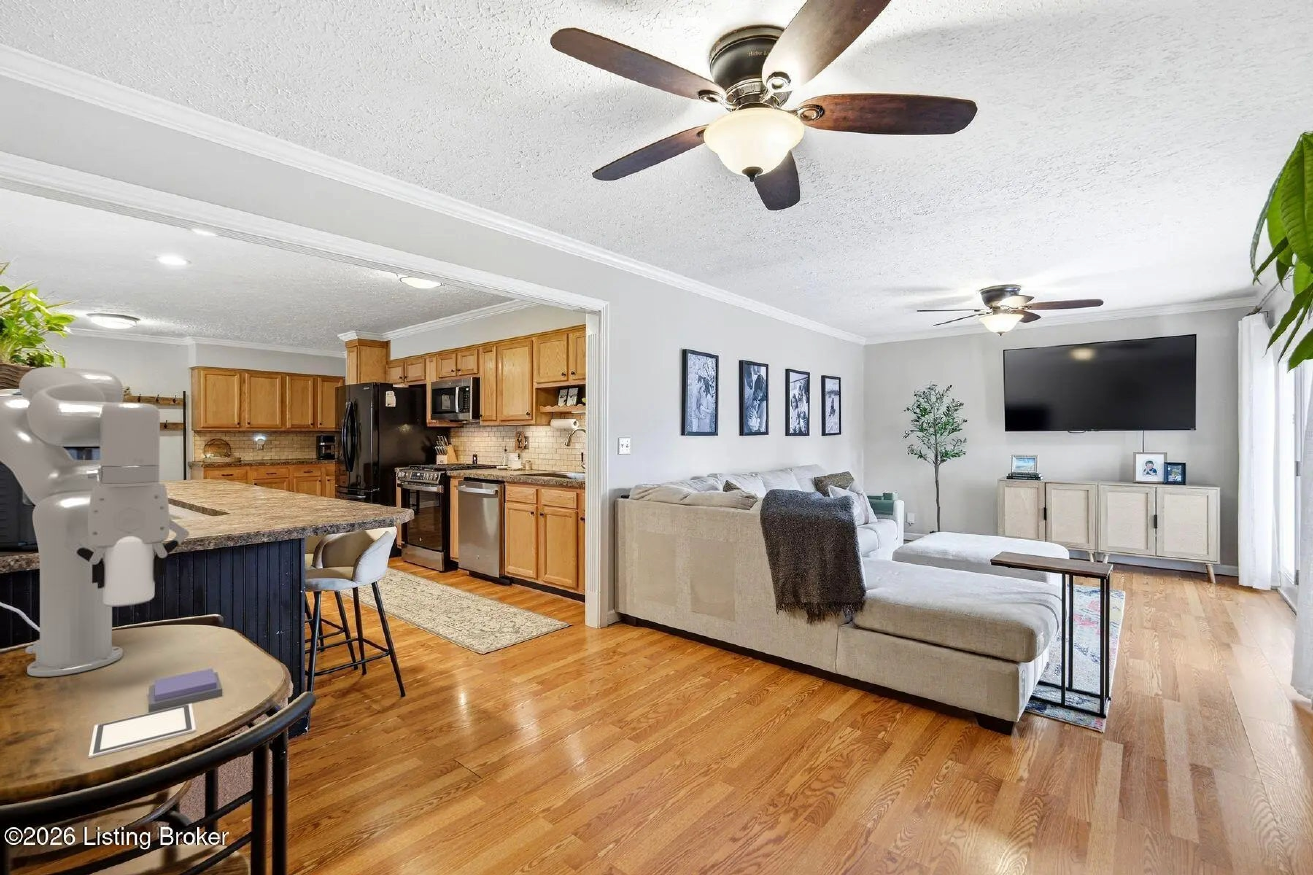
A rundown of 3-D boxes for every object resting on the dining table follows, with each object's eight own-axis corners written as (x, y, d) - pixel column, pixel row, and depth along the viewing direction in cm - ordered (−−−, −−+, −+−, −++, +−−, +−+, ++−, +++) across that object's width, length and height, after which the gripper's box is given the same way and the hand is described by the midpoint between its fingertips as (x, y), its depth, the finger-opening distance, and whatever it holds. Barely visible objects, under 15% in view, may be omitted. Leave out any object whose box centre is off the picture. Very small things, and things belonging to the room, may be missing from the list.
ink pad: (148, 712, 90) (148, 697, 90) (148, 693, 97) (148, 679, 97) (222, 695, 96) (222, 682, 96) (217, 678, 103) (217, 666, 103)
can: (95, 608, 96) (95, 534, 96) (112, 598, 102) (113, 528, 102) (146, 604, 98) (146, 531, 98) (160, 595, 104) (160, 526, 104)
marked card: (88, 758, 77) (88, 755, 77) (94, 727, 86) (94, 724, 86) (195, 731, 85) (195, 728, 85) (191, 705, 93) (191, 702, 93)
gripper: (54, 480, 92) (53, 596, 92) (196, 475, 103) (196, 580, 103) (60, 477, 97) (59, 587, 97) (194, 473, 109) (193, 572, 109)
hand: (129, 582), depth 100 cm, fingers closed on can, 6 cm apart
